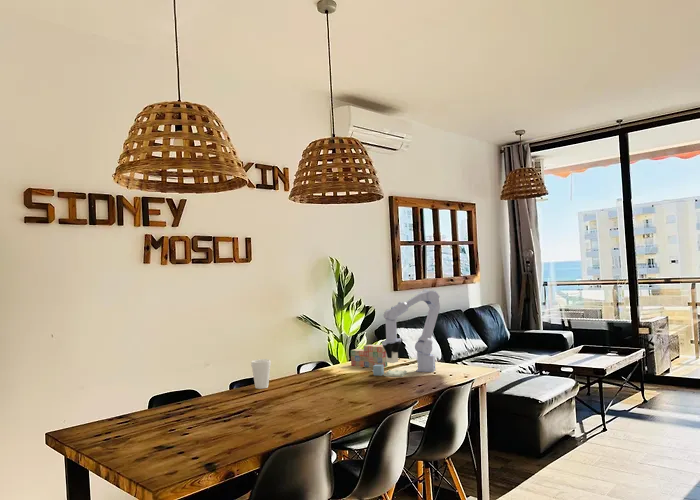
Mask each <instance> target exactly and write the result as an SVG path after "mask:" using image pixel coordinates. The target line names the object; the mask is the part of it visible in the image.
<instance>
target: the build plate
mask: <svg viewBox="0 0 700 500" xmlns="http://www.w3.org/2000/svg"><path fill="white" fill-rule="evenodd" d="M407 372H408V371H407V370H397V369H396V370H391V369H388V371H386V372H384V374H383V377H401V378H402V377H404V376H405V375H407V374H408V373H407Z"/></svg>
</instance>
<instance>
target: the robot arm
mask: <svg viewBox="0 0 700 500" xmlns="http://www.w3.org/2000/svg"><path fill="white" fill-rule="evenodd" d="M419 302H425V304H426V305H427V307H428V312H427V316H426V319H425V323H424V326H423V330H422V331H421V332H422V333H421V335H420V336H419V338H418V340H417V341H416V343H415V345H414V349H415V351H416V358H417V369H416V370H415V371H416V372H422V373H425V372H426V373H433V372H435V371H436V370H437V369H436V356H435V354H432V351H433V339H432V336H433V333H434V329H435V326H436V323H437V320H438V315H439V314H440V313H439V311H440V310H441V303H440V295H439V293H438V292H437V291H436V290H434V289H431V290H430V289H424V290H422V291H420V292H418V293H417V294H415V295H414V296H413V297H411V298H409V299H408V300H406V301H398V302H397V304H396V305H394V306H391V307H390V308H389V309H386V310H384V312H383V313H384V314H383V318H384V319H385V338H386V339H385V340H383V341H381V345H383V347H384V349H385V351H386V354H387V357H388V358H391V357H392V352H398V353H399V350H400V347H401V345H402V338H400V337H399V338H398V335H397V334H398V331H397V319H398V317H400V316H401V315H403V314H405V313H406V312H408V310H409V307H412V306H414V305H415V304H418V303H419Z"/></svg>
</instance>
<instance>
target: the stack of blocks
mask: <svg viewBox="0 0 700 500" xmlns="http://www.w3.org/2000/svg"><path fill="white" fill-rule="evenodd" d="M375 364H376V365H384V368H387V367H388V362H386V351H385V349H384V347H383V345H382V344H366V345H363V348H355V349H351V350H350V365H351V366H352V367H353V366H354V367H363V368H364V367H365V368H373V366H374V365H375Z"/></svg>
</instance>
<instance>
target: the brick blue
mask: <svg viewBox="0 0 700 500" xmlns="http://www.w3.org/2000/svg"><path fill="white" fill-rule="evenodd" d="M384 368H385V367H384V365H376V364H375V365H374V366H373V367H372V370H373V371H372V372H373V374H372V375H373V376H378V377H379V376H381V377H382V376H384V374H385V369H384Z"/></svg>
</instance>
